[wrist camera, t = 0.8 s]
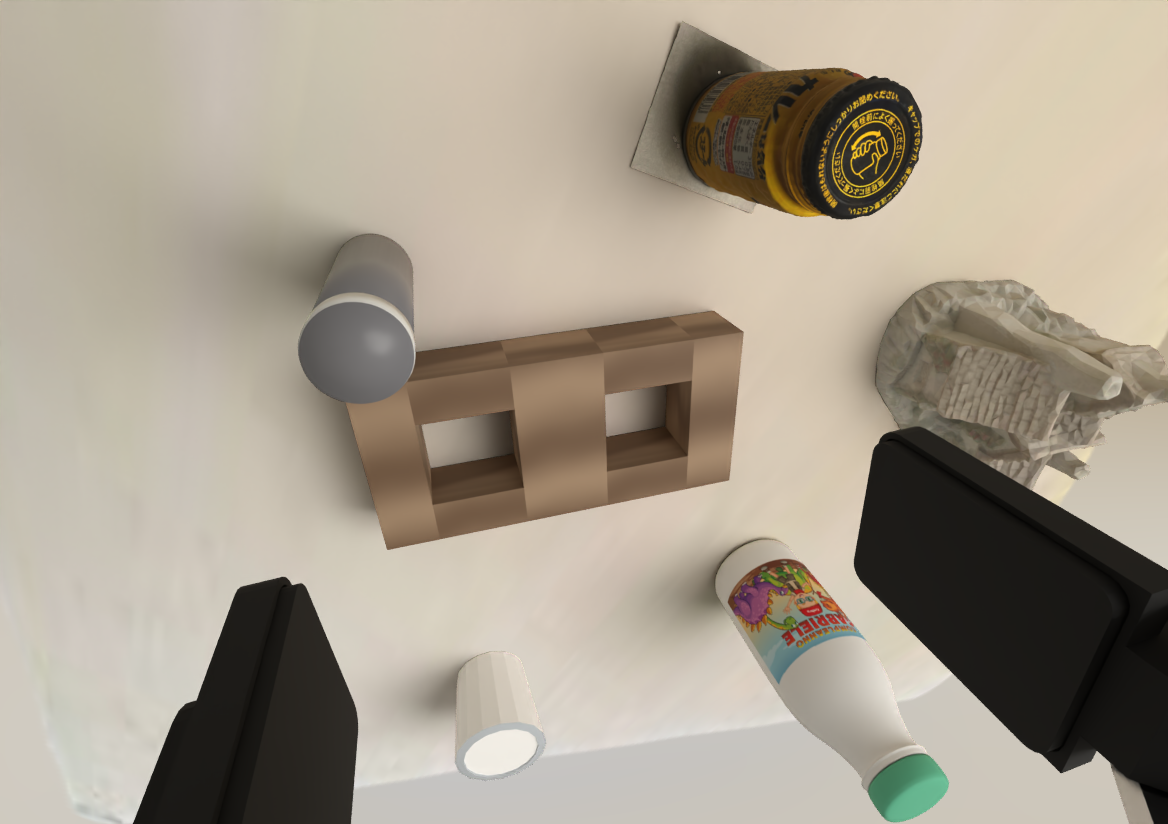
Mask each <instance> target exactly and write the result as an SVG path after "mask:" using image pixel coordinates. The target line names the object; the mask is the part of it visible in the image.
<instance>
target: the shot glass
mask: <svg viewBox="0 0 1168 824" xmlns="http://www.w3.org/2000/svg"><path fill="white" fill-rule="evenodd" d="M545 745H546V740H545V736H544V733H543V730H542V727H541V723H540V720H539V717H538V714H537V710H536V707H535V704H534V701H533V697H532V694H531V691H530V688H529V685H528V681H527V678H526V675H525V672H524V668H523V665H522V662H521V660H520V659H519V658H518V657H517V656H515V655H514V654H511V653H508V652H504V651H496V652H488V653H484V654H481V655H478V656H476V657H474V658H473V659H471V660H470V661H468V662H467V663H465V665H464V666H463V667H462V668H461V670H460V671H459V674H458V678H457V700H456V739H455V764H456V766H457V768H458V770H459V772H460V773H462V774H463V775H465V776H467V777H468V778H470V779H477V780H484V781H486V780H495V779H503V778H505V777H508V776H511V775H514V774H517V773H519V772H521V771H523V770H524V769H526V768H527V767H529V766H531V765H532V764H533V763H534V762H535V761H536V760H537V759H538V758H539V757H540V756H541V755H542V753H543V751H544V748H545Z"/></svg>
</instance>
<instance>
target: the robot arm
mask: <svg viewBox="0 0 1168 824" xmlns="http://www.w3.org/2000/svg"><path fill="white" fill-rule="evenodd" d="M854 567H855V571H856V574H857V576H858V577H859V579H860V580H861V582H862V583H863V584H864V585H865V586H866V587H867V588H868V589H869V590H870V591H871V592H872V593H873V594H874V595H875V596H876V597H877V598H878V599H879V600H880V601H881V602H882V603H883V604H884V605H885V606H886V607H887V608H888V609H889V610H890V611H891V612H892V613H893V614H894V615H895V616H896V617H897V618H898V619H899V620H900V621H901V622H902V623H903V624H904V625H905V626H906V627H907V628H908V629H909V630H910V631H911V632H912V633H913V634H914V635H915V636H916V637H917V638H918V639H919V640H920V641H921V642H922V643H923V644H924V645H925V646H926V647H927V648H928V649H929V650H930V651H931V652H932V653H933V654H934V655H935V656H936V657H937V658H938V659H939V660H940V661H941V662H942V663H943V664H944V665H945V666H946V667H947V668H948V669H949V670H950V671H951V672H952V673H953V674H954V675H955V676H956V677H957V678H958V679H959V680H960V681H961V682H962V683H963V684H964V685H965V686H966V687H967V688H968V689H969V690H970V691H971V692H972V693H973V694H974V695H975V696H976V697H977V698H978V699H979V700H980V701H981V702H982V703H983V704H984V705H985V706H986V707H987V708H988V709H989V710H990V711H991V712H992V713H993V714H994V715H995V716H996V717H997V718H998V719H999V720H1000V721H1001V722H1002V723H1003V724H1004V725H1005V726H1006V727H1007V728H1008V729H1009V730H1010V731H1011V732H1012V733H1013V734H1014V735H1015V736H1016V737H1017V738H1018V739H1019V740H1020V741H1021V742H1022V743H1023V744H1024V745H1025V746H1026V747H1028V748H1029V749H1031V750H1033V751H1034V752H1037V753H1040V754H1042V755H1043V756H1044V757H1045V758H1046V759H1047V760H1048V761H1049V762H1050V763H1051V764H1052V765H1053V766H1054V767H1055V768H1056V769H1057V770H1058V771H1059V772H1060V773H1063V772H1066V771H1068V770H1071V769H1073V768H1076V767H1078V766H1081V765H1083V764H1086V763H1088V762H1091V760H1092V759H1093V757H1094V755H1095V753H1096V751H1098V752H1099V753H1100V754H1101V755H1102V756H1104V757H1105V758H1106V759H1107V760H1108V761H1109V762H1110V763H1111V768H1112V772H1113V775H1114V777H1115V781H1116V784H1117V787H1118V790H1119V793H1120V796H1121V799H1122V802H1123V806H1124V809H1125V812H1126V815H1127V818H1128V821H1129V824H1168V570H1167V569H1165V568H1163V567H1162V566H1160V565H1158V564H1156V563H1155V562H1153V561H1151V560H1150V559H1148V558H1146V557H1144V556H1143V555H1141V554H1139V553H1138V552H1136V551H1134V550H1133V549H1131V548H1129V547H1127V546H1126V545H1124V544H1122V543H1120V542H1119V541H1117V540H1115V539H1114V538H1112V537H1110V536H1108V535H1107V534H1105V533H1103V532H1102V531H1100V530H1098V529H1097V528H1095V527H1093V526H1091V525H1090V524H1088V523H1086V522H1085V521H1083V520H1081V519H1079V518H1078V517H1076V516H1074V515H1073V514H1071V513H1069V512H1067V511H1066V510H1064V509H1062V508H1061V507H1059V506H1057V505H1056V504H1054V503H1052V502H1050V501H1049V500H1047V499H1045V498H1044V497H1042V496H1040V495H1038V494H1037V493H1035V492H1033V491H1032V490H1030V489H1028V488H1027V487H1025V486H1023V485H1021V484H1020V483H1018V482H1016V481H1015V480H1013V479H1011V478H1009V477H1008V476H1006V475H1004V474H1003V473H1001V472H999V471H997V470H996V469H994V468H992V467H991V466H989V465H987V464H985V463H984V462H982V461H980V460H979V459H977V458H975V457H973V456H972V455H970V454H968V453H967V452H965V451H963V450H962V449H960V448H958V447H956V446H955V445H953V444H951V443H950V442H948V441H946V440H944V439H943V438H941V437H939V436H938V435H936V434H934V433H932V432H931V431H929V430H927V429H925V428H923V427H920V426H914V427H910V428H906V429H901V430H897V431H893V432H889V433H886V434H884V435H883V436H882V437H881V439H880V441H879V444H877V445H876V446H875V448H874V450H873V455H872V460H871V466H870V472H869V477H868V483H867V489H866V495H865V500H864V506H863V512H862V517H861V523H860V529H859V535H858V540H857V546H856V552H855V557H854ZM357 738H358V718H357V712H356V707H355V704H354V701H353V699H352V697H351V694H350V692H349V689H348V687H347V685H346V682H345V680H344V677H343V675H342V673H341V670H340V668H339V665H338V663H337V661H336V658H335V656H334V653H333V651H332V649H331V646H330V644H329V641H328V639H327V637H326V634H325V632H324V629H323V627H322V625H321V622H320V620H319V617H318V615H317V613H316V610H315V608H314V605H313V603H312V600H311V598H310V596H309V593H308V591H307V589H306V587H305V586H304V585H303V584H301V583H300V584H296V585H292V584H291V583H290V581H289V580H288V579H287V578H286V577H280V578H276V579H272V580H268V581H263V582H259V583H255V584H251V585H247V586H242V587H240V588H239V589H238V590H237V592H236V594H235V596H234V599H233V601H232V604H231V607H230V610H229V612H228V615H227V618H226V621H225V623H224V626H223V629H222V632H221V634H220V637H219V640H218V643H217V645H216V648H215V651H214V654H213V656H212V659H211V662H210V665H209V667H208V670H207V673H206V676H205V679H204V681H203V684H202V687H201V690H200V692H199V695H198V698H197V701H193V702H190V703H186V704H185V705H184V706H183V707H182V708H181V709H180V710H179V711H178V713H177V715H176V717H175V719H174V721H173V723H172V725H171V727H170V730H169V733H168V735H167V738H166V740H165V743H164V745H163V748H162V751H161V753H160V756H159V758H158V761H157V763H156V766H155V768H154V771H153V774H152V776H151V779H150V781H149V784H148V786H147V789H146V792H145V794H144V797H143V799H142V802H141V804H140V807H139V810H138V812H137V815H136V817H135V820H134V822H133V824H351V814H352V801H353V789H354V776H355V763H356V751H357Z"/></svg>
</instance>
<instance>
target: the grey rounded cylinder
mask: <svg viewBox="0 0 1168 824" xmlns="http://www.w3.org/2000/svg"><path fill="white" fill-rule="evenodd" d="M298 355H299V359H300V363H301V366H302V368H303V371H304V373H305V374H306V376H307V377H308V379H309V380H310V381H311V383H312V384H313V385H314V386H315V387H316V388H318V389H319V390H320V391H321V392H323V393H325V394H326V395H328V396H330V397H332V398H334V399H337V400H340V401H343V402H347V403H354V404H367V403H373V402H378V401H381V400H384V399H386V398H388V397H390V396H391V395H393V394H395V393H396V392H397V391H398V390H400V389H401V388H402V387H403V385H404V384H405V383H406V382H407V380H408V379H409V377H410V375H411V373H412V371H413V368H414V364H415V337H414V309H413V268H412V264H411V261H410V259H409V257H408V255H407V253H406V252H405V251H404V249H403V248H402V247H401V246H400V245H399V244H397V243H396V242H395V241H393V240H391V239H389V238H387V237H385V236H382V235H377V234H364V235H360V236H356V237H354V238H352V239H351V240H349V241H348V242H347V243H345V244H344V245H343V247H342V248H341V249H340V251H339V253H338V255H337V257H336V259H335V262H334V264H333V266H332V268H331V270H330V273H329V275H328V277H327V279H326V282H325V284H324V286H323V288H322V290H321V293H320V295H319V297H318V299H317V301H316V304H315V306H314V308H313V310H312V312H311V313H310V315H309V316H308V318H307V320H306V322H305V324H304V326H303V329H302V331H301V334H300V337H299V341H298Z"/></svg>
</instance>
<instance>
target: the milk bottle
mask: <svg viewBox="0 0 1168 824" xmlns="http://www.w3.org/2000/svg"><path fill="white" fill-rule="evenodd" d="M715 588H716V593H717V596H718V598H719V599H720V601H721V603H722V605H723V606H724V608H725V610H726V611H727V613H728V615H729V616H730V618H731V620H732V621H733V623H734V625H735V626H736V628H737V629H738V631H739V633H740V634H741V636H742V638H743V639H744V641H745V643H746V644H747V646H748V647H749V649H750V651H751V652H752V654H753V656H754V657H755V659H756V660H757V662H758V664H759V665H760V667H761V668H762V670H763V672H764V673H765V675H766V676H767V678H768V680H769V681H770V683H771V684H772V686H773V687H774V689H775V690H776V692H777V693H778V695H779V696H780V698H781V699H782V701H783V702H784V704H785V705H786V707H787V708H788V709H789V710H790V712H791V713H792V714H793V716H794V717H795V718H796V719H797V720H798V721H799V722H800V723H801V724H802V725H803V726H804V727H805V728H806V729H807V730H808V731H810V732H811V733H812V734H813V735H815V736H816V737H817V738H819V739H820V740H822V741H823V742H824V743H826V744H827V745H828V746H830V747H831V748H832V749H834V750H835V751H836V752H837V753H839V754H840V755H841V756H842V757H843V758H844V759H845V760H846V761H847V762H848V763H849V764H850V765H851V766H852V767H853V768H854V769H855V770H856V771H857V772H858V774H859V775H860V777H861V778H862V786H863V788H864V789H865V790H866V791H867V792H868V794H869V796H870V799H871V800H872V802H873V804H874V805H875V807H876V808H877V810H878V811H879V812H880V814H881V815H882V816H883V817H884V818H885V819H886V820H887V821H890V822H902V821H906V820H909V819H912V818H914V817H916V816H918V815H920V814H922V813H924V812H926V811H927V810H928V809H930V808H931V807H933V806H934V805H935V804H936V803H937V802H938V801H939V800H940V799H941V798H942V797H943V796H944V795H945V793H946V791H947V789H948V785H949V782H948V779H947V777H946V775H945V774H944V772H943V771H942V770H941V768H940V767H939V766H938V764H936V762H935V761H934V760H933V759H932V758H931V757H930V756H929V755H928V754H927V752H926V750H925V748H924V747H923V746H920V745H917V744H916V743H915V742H914V740H913V739H912V737H911V736H910V734H909V732H908V730H907V728H906V726H905V724H904V722H903V720H902V717H901V715H900V712H899V709H898V706H897V703H896V700H895V696H894V693H893V689H892V686H891V683H890V680H889V677H888V675H887V673H886V671H885V669H884V667H883V665H882V663H881V661H880V659H879V658H878V656H877V655H876V653H875V652H874V650H873V649H872V648H871V646H870V645H869V644H868V642H867V641H866V640H865V638H864V637H863V636H862V635H861V633H860V632H859V631H858V629H857V628H856V627H855V626H854V625H853V623H852V622H851V621H850V620H849V618H848V617H847V616H846V615H845V614H844V612H843V611H842V610H841V609H840V607H839V606H838V605H837V604H836V603H835V601H834V600H833V599H832V598H831V597H830V595H829V594H828V593H827V592H826V591H825V589H824V588H823V587H822V586H821V584H820V583H819V582H818V581H817V580H816V578H815V577H814V576H813V575H812V574H811V572H810V571H809V570H808V569H807V568H806V567H805V565H804V564H803V563H802V562H801V561H800V559H799V558H798V557H797V556H796V555H795V554H794V552H793V551H792V550H791V549H790V548H789V547H788V546H787V545H785V544H783V543H781V542H779V541H776V540H770V539H762V540H757V541H753V542H751V543H748V544H746V545H744V546H742V547H740V548H738V549H737V550H736V551H734V552H733V553H732V554H731V555H729V556H728V557H727V558H726V559H725V561H724V562H723V563H722V564H721V566H720V568H719V570H718V572H717V575H716V580H715Z"/></svg>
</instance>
